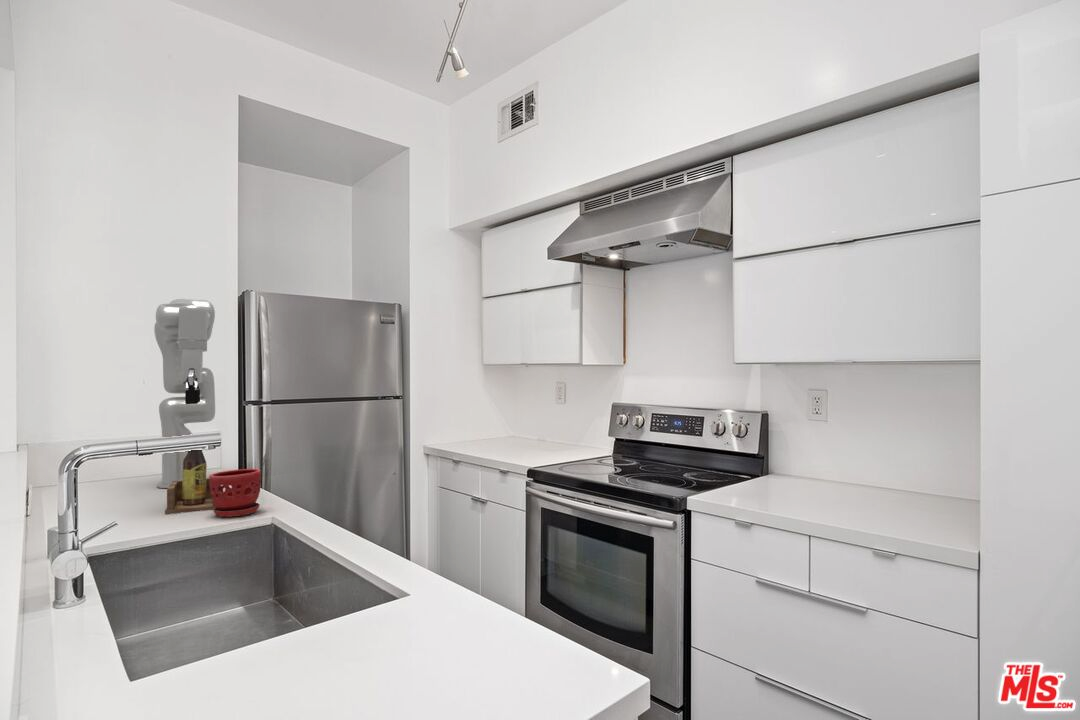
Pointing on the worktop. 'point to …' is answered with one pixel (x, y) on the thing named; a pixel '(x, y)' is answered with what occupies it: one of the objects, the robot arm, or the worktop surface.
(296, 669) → the worktop surface
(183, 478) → the sauce bottle
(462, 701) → the worktop surface
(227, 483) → the plant pot
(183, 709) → the worktop surface
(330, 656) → the worktop surface
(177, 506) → the u rest
